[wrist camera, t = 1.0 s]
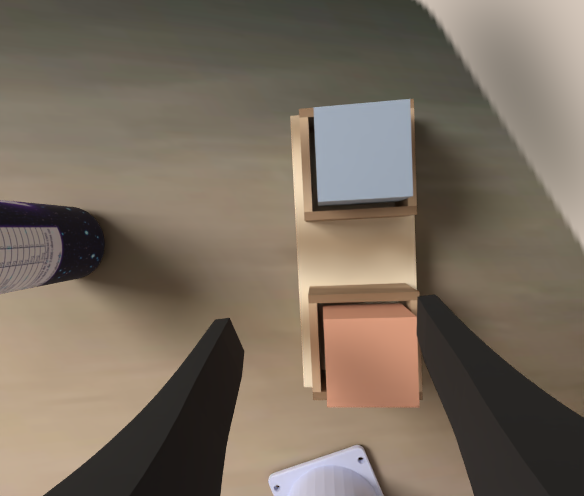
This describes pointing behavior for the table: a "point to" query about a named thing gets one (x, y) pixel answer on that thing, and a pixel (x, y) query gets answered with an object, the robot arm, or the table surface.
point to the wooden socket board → (347, 252)
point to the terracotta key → (371, 356)
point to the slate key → (363, 153)
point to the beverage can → (46, 244)
